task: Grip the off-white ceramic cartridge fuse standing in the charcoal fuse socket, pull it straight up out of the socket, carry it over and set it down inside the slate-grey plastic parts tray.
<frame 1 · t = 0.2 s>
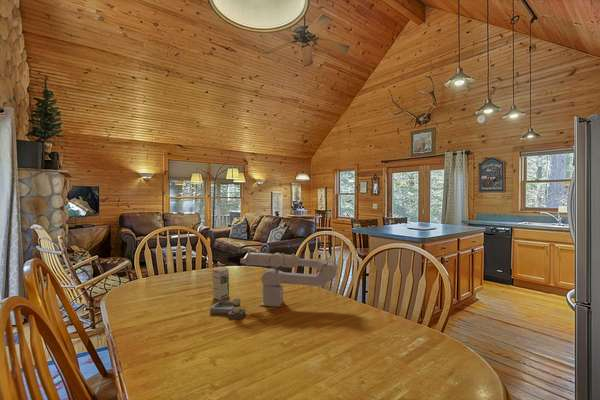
hand: (230, 257, 148), 21 cm above the table, tool horizontal, fingers open, 7 cm apart
parts tray: (225, 310, 137), on the table
fuse socket: (236, 316, 131), on the table
fuse: (236, 307, 130), in the fuse socket
syrup box: (220, 297, 155), on the table
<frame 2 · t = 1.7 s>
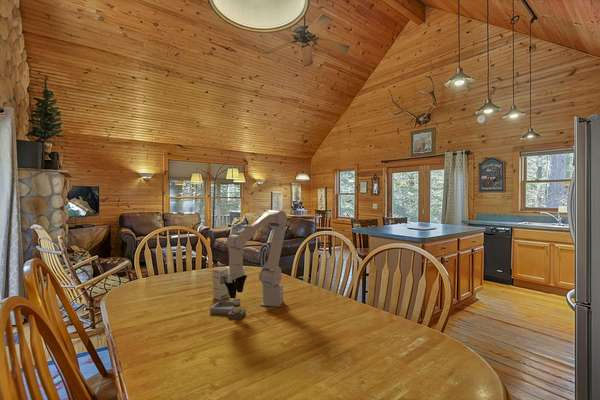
hand: (236, 295, 130), 9 cm above the table, tool pointing down, fingers open, 7 cm apart
nothing on the table moved.
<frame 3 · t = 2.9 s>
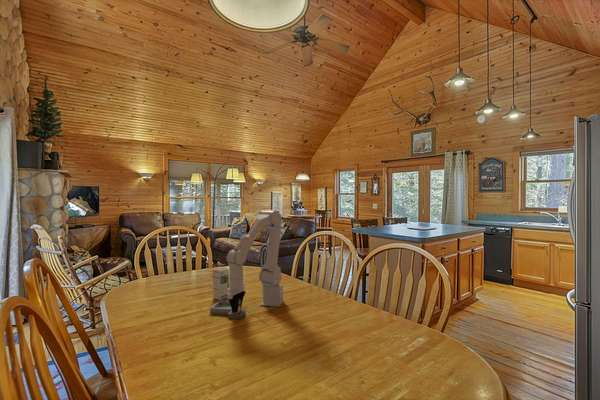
hand: (236, 310, 130), 2 cm above the table, tool pointing down, fingers closed on fuse, 3 cm apart
fuse: (236, 307, 130), in the fuse socket, touching gripper
everything else where it was.
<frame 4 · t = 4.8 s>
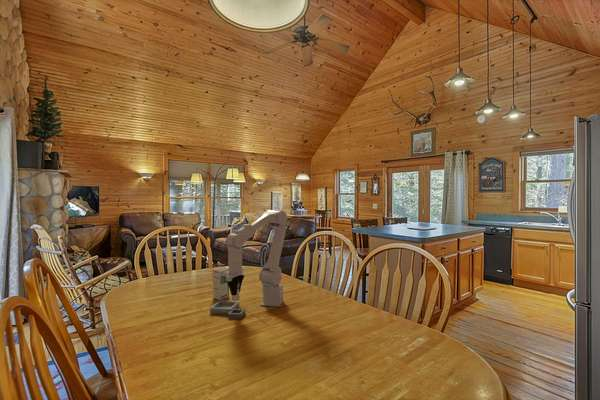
hand: (235, 293, 131), 9 cm above the table, tool pointing down, fingers closed on fuse, 3 cm apart
fuse: (235, 291, 131), point 10 cm above the table, touching gripper
everything else where it was.
when the fingers open (4 cm above the table, at t = 6.6 s): fuse stays where it is, resting on parts tray.
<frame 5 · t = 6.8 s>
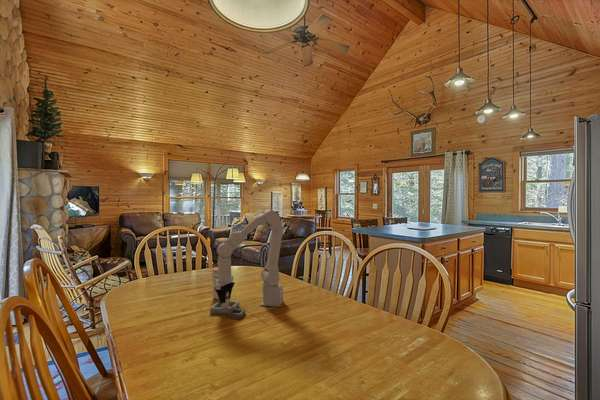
hand: (225, 300, 137), 4 cm above the table, tool pointing down, fingers open, 5 cm apart
fuse: (225, 300, 137), in the parts tray, point 4 cm above the table
everything else where it was.
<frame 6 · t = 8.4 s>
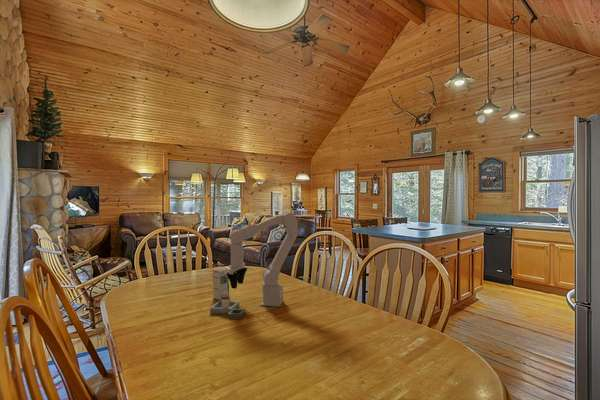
hand: (237, 285, 142), 9 cm above the table, tool pointing down, fingers open, 7 cm apart
nothing on the table moved.
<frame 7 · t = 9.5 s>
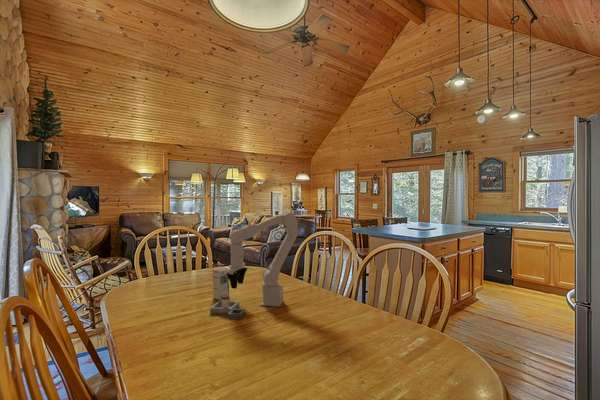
hand: (237, 285, 142), 9 cm above the table, tool pointing down, fingers open, 7 cm apart
nothing on the table moved.
at the end: fuse 0.0 cm off-centre on the parts tray, point 4.3 cm above the parts tray's base; the gripper is holding nothing; fuse moved 9.5 cm from its start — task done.
